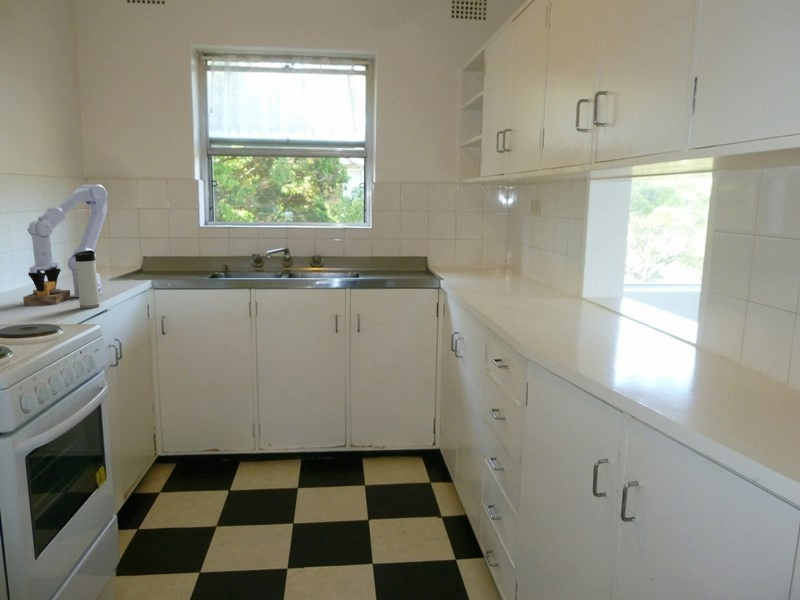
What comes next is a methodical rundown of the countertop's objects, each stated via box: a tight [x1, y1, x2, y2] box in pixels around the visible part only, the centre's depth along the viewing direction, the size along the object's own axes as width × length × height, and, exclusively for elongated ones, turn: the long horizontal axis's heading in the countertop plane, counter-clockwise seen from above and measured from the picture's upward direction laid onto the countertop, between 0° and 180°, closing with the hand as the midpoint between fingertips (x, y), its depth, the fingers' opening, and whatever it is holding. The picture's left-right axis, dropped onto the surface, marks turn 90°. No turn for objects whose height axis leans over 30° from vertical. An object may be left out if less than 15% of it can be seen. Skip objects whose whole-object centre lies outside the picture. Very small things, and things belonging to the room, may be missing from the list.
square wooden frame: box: [22, 288, 72, 306], centre depth 229 cm, size 11×14×5 cm
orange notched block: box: [37, 280, 57, 295], centre depth 228 cm, size 4×5×6 cm
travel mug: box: [75, 250, 101, 310], centre depth 216 cm, size 6×7×20 cm
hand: (46, 289), depth 228 cm, fingers open, 7 cm apart
